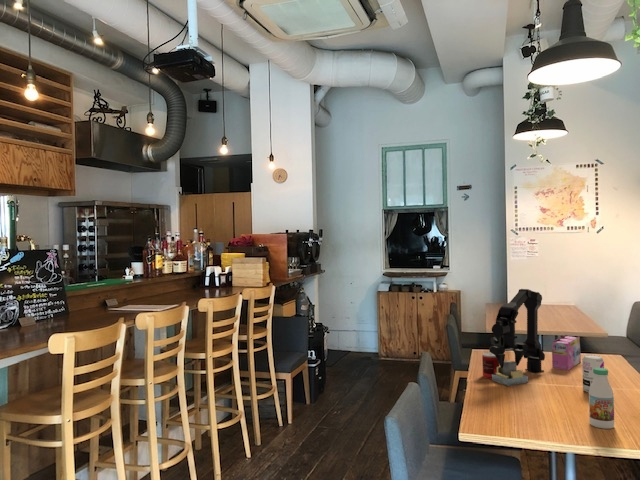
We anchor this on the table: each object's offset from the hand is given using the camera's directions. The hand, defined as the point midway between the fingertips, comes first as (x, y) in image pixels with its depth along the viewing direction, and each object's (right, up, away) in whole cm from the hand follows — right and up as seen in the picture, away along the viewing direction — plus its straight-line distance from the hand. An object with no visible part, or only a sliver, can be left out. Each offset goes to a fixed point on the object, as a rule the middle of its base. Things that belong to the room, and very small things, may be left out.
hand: (509, 366), depth 233 cm
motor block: (0, -7, 0) cm, 7 cm away
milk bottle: (+11, -7, -56) cm, 58 cm away
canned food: (-6, -7, +8) cm, 12 cm away
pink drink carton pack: (+41, -6, +28) cm, 50 cm away
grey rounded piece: (0, -4, 0) cm, 4 cm away
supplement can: (+30, -6, -18) cm, 35 cm away
